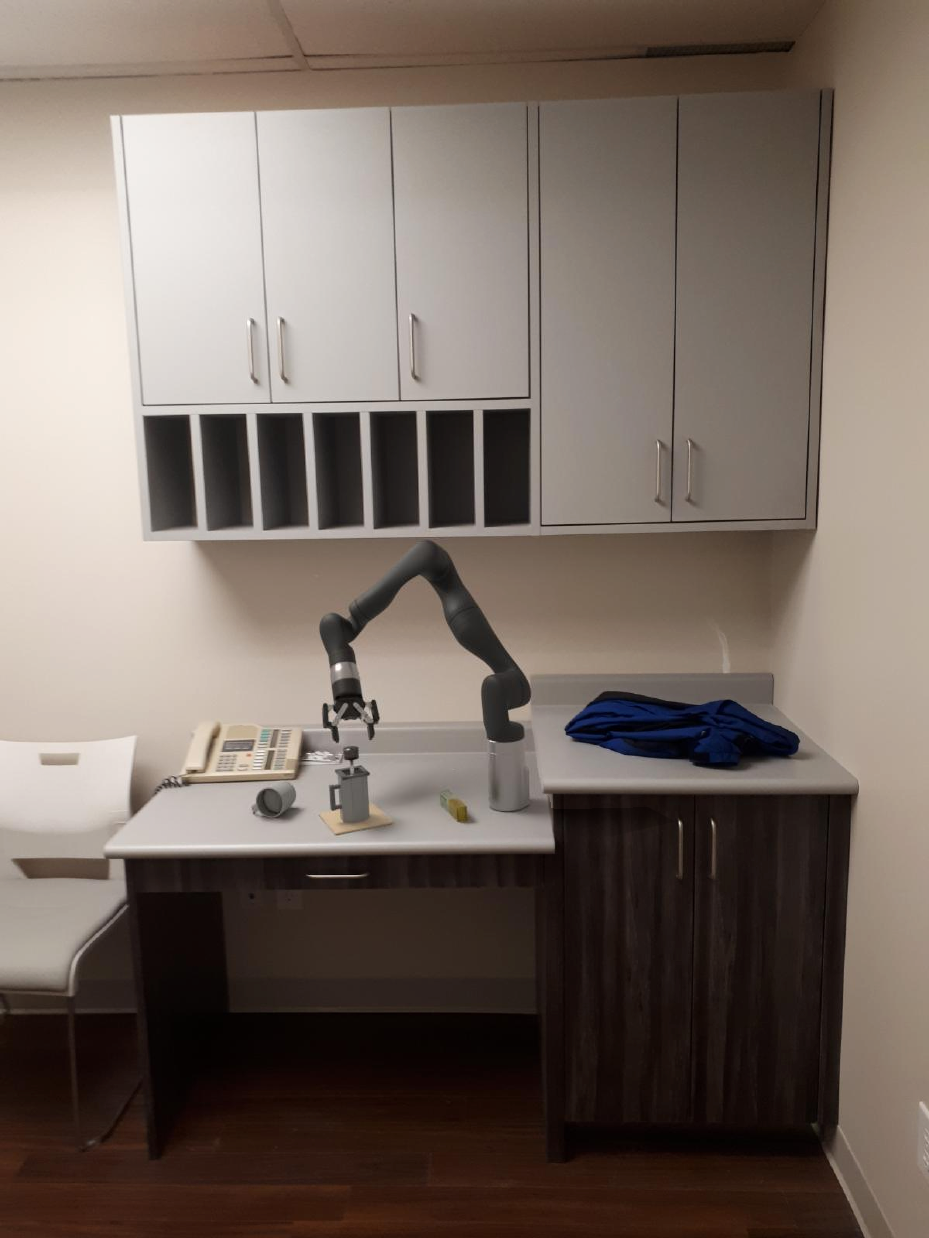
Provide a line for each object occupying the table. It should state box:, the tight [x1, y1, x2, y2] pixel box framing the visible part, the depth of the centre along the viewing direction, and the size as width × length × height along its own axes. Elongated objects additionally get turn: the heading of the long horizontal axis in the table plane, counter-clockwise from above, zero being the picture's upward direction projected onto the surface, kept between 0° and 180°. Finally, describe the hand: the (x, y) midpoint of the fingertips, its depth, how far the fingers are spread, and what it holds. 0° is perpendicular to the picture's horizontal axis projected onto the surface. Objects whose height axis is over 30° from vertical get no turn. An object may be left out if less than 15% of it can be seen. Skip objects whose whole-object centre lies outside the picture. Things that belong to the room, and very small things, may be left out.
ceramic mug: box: [250, 780, 297, 819], centre depth 223 cm, size 11×8×8 cm
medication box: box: [439, 789, 469, 823], centre depth 218 cm, size 12×3×4 cm, turn 22°
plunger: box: [342, 745, 360, 775], centre depth 214 cm, size 4×4×14 cm
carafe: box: [318, 764, 393, 836], centre depth 215 cm, size 14×14×12 cm
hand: (354, 740), depth 226 cm, fingers open, 8 cm apart
